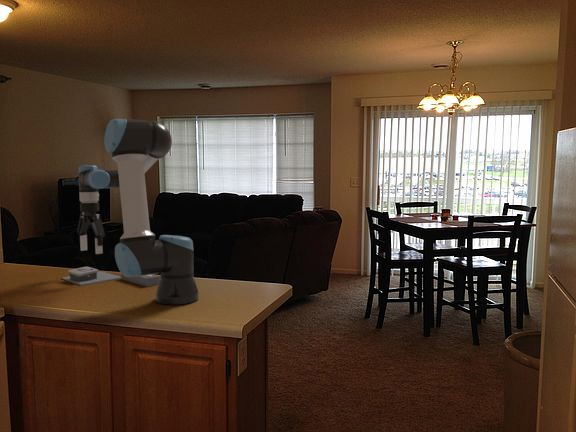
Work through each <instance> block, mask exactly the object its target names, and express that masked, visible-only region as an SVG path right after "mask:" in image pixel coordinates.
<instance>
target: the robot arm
mask: <svg viewBox="0 0 576 432" xmlns="http://www.w3.org/2000/svg"><path fill="white" fill-rule="evenodd" d="M103 139H104V149H105V151H106V152H107V153H108V154H111V159H112V161H114V162H115V163H116V164H117V169H98V166H97V165H80V166H79V167H78V183H79V184H78V186H79V187H78V189H79V193H78V194H79V195H78V196H79V202H80V203H79V210H80V213H79V221H78V225H77V231H76V233H77V234H78V236H79V244H80V245H79V246H80V251H81V252H83V251H88V233H87V232H88V229H89V227H90V226H91V228H92V230H93V233H94V235H95V236H94V246H95V249H94V250H95V255H100V254H101V255H102V254H103V253H104V252H103V251H104V249H103V238H104V237H106V233H105V232H106V231H105V229H104V226H103V222H102V217H101V214H100V213H97V212H99V211H100V203H99V201H100V194H99V190H100V189H101V190H102V189H119V193H120V194H119V195H120V204H121V205H120V206H121V215H122V224H123V234H122V235H121V236H120V238H119V242H118V243H117V244H116V245H115V247H114V258H115V263H116V265H117V268H118V270H119V271H120V274H121V273H122V274H123V275H124V276H126V277H135V276H136V277H139V276H144V275H151V274H153V275H157V274H160V283H159V285H157V290H156V293H155V302H157V303H158V304H163V305H185V304H191V303H194V302H196V301H198V300H199V297H200V295H199V294H200V293H199V289H198V286H197V284H196V281H195V277H194V251H195V250H194V242H193V239H191V238H190V237H187V236H182V235H172V234H171V235H170V234H162V235H160V236H159V238H158V239H156V234H155V233H154V232H152V231H151V227H150V226H151V225H150V217H149V216H150V215H149V207H148V205H149V204H148V197H147V196H148V195H147V186H146V175H145V174H146V173H147V172H148V170H149V169H151V168H152V166H153V165H154V164H155V163H156V162H157V161H158V160H159V159H162V158H164V157H166V155H167V154H169V152H170V150H171V148H172V145H173V144H172V143H173V140H172V135H171V133H170V131H169V129H168V128H167V127H166V126H165V125H164V124H162V123H161V122H160V121H156V120H145V119H144V120H143V119H133V118H113V119H111V120H110V121H109V123H108V124H107V125H106V129H105V132H104V138H103Z"/></svg>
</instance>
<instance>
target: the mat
mask: <svg viewBox="0 0 576 432" xmlns="http://www.w3.org/2000/svg"><path fill="white" fill-rule="evenodd" d="M61 279H62V280H63V281H66V282H70V283H71V284H72V283H73V284H75V285H78V286H81V287H82V286H88V285H95V284H99V283H104V282H111V281H116V280H122V279H121V276H119V275H116V274H113V273H108V272H107V271H106V272H105V271H102V270H101V271H99V272H97V279H92V280H87V281H82V282H78V281H75V280H71V279H70V275H68V276H63V277H61Z"/></svg>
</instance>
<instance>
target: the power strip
mask: <svg viewBox="0 0 576 432" xmlns="http://www.w3.org/2000/svg"><path fill="white" fill-rule="evenodd" d="M120 277H121V279H120V280H123V281H126V282H130V283H132V284H136V285H140V286H142V287H146V288H148V287H153V286H159V283H160V279H161V275H157V274H151V275H144V276H139V277H136V276H135V277H126V276H124V275H123V274H122V273H121V272H120Z"/></svg>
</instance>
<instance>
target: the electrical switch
mask: <svg viewBox="0 0 576 432" xmlns="http://www.w3.org/2000/svg"><path fill="white" fill-rule="evenodd" d="M97 272H100V271H99V269H97V268H94V267H90V266H83V267H77V268H72V269H68V270H67V273H68V274H69V276H70V279H71V280H75V281H78V282H82V281H87V280H92V279H97Z"/></svg>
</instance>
